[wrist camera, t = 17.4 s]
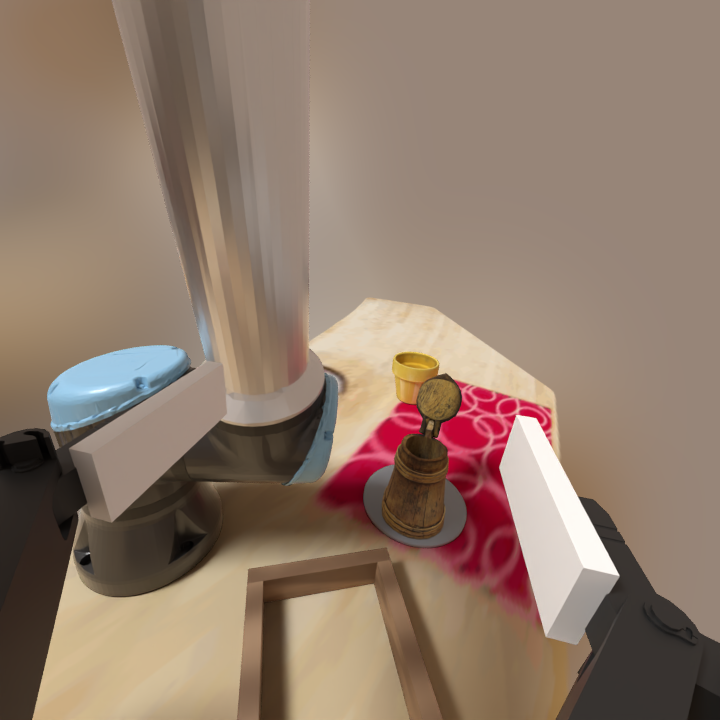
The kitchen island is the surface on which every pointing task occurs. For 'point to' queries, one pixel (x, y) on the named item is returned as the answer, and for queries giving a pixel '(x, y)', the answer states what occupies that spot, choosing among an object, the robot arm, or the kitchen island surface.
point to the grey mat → (373, 507)
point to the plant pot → (412, 374)
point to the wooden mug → (422, 465)
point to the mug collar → (329, 577)
